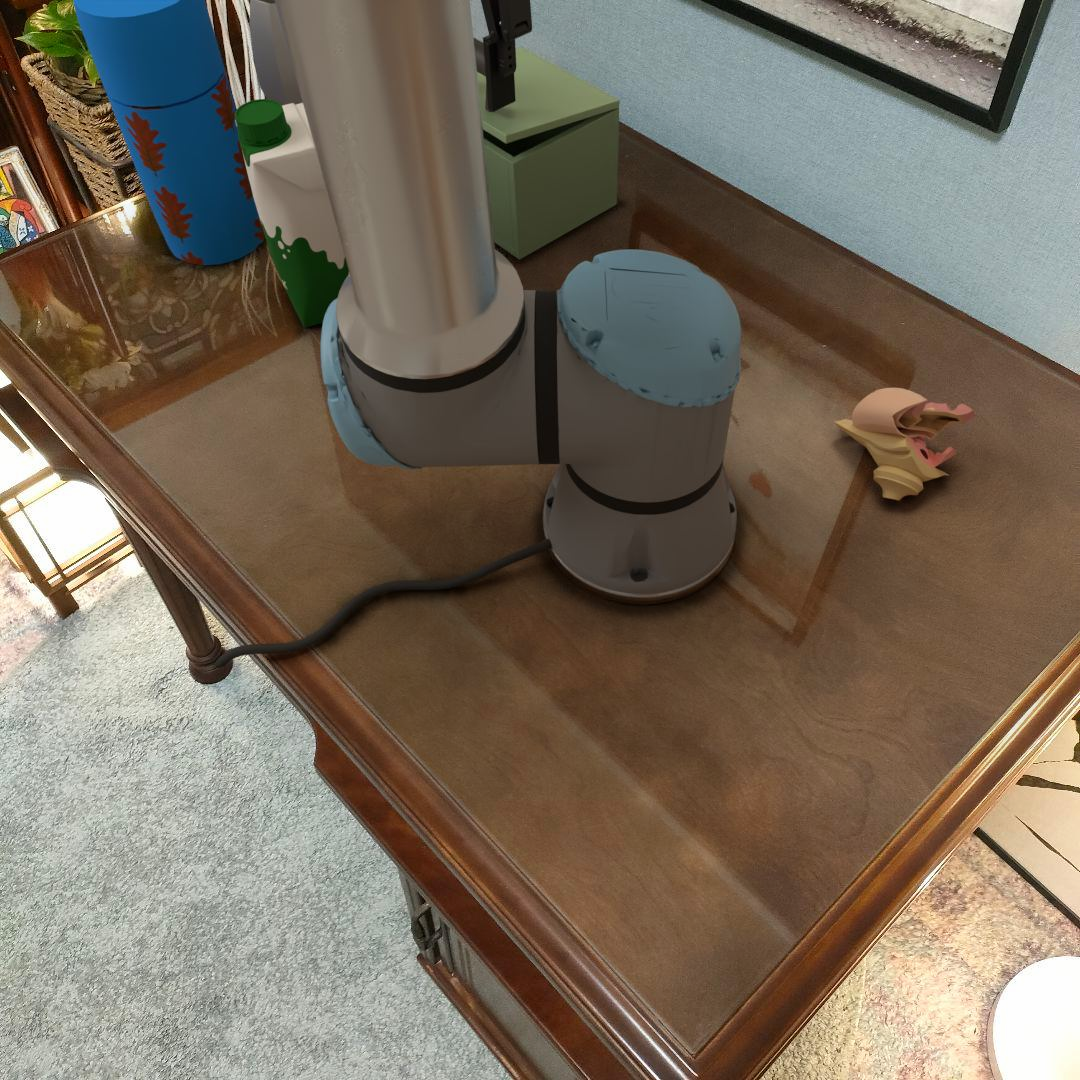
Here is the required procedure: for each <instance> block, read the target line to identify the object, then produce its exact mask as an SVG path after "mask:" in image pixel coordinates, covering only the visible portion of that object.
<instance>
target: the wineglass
mask: <svg viewBox="0 0 1080 1080" xmlns="http://www.w3.org/2000/svg"><path fill="white" fill-rule="evenodd" d="M249 34H250V41H251V42H250V43H251V50H252V51H251V52H252V61H253V65H254V69H255V73H256V76H257V80H258V83H259V88H260V89H261V91H262V93H263V95H264V96H265V99H270V100H274V101H277V102H278V103H280V104H281V105H282V106H283V105H287V104H291V103H294V104H295V105H296V104H300V103H303V101H302V98H301V94H300V91H299V87H298V83H297V80H296V76H295V72H294V69H293V65H292V62H291V58H290V54H289V51H288V47H287V43H286V40H285V36H284V33H283V29H282V25H281V22H280V18H279V14H278V11H277V7H276V4H275V0H249Z"/></svg>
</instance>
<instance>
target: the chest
mask: <svg viewBox="0 0 1080 1080" xmlns="http://www.w3.org/2000/svg"><path fill="white" fill-rule="evenodd" d="M619 132H620V107H619V108H617V109H613V110H610V111H607V112H604V113H601V114H598V115H595V116H591V117H588V118H585V119H582V120H579V121H576V122H573V123H569V124H566V125H563V126H560V127H557V128H554V129H551V130H547V131H544V132H541V133H538V134H535V135H532V136H529V137H525V138H522V139H519V140H516V141H513V142H510V143H504V142H503V141H501V140H499V139H498V138H496V137H495V136H493V135H491V134H490V133H488V132H487V131H485V130H483V137H484V147H485V157H486V167H487V177H488V187H489V197H490V207H491V217H492V227H493V236H494V244H496V245H498V246H499V247H501V248H502V249H503V250H504V251H506V252H507V253H509V254H510V255H512V256H513V257H515V258H516V259H518V260H521V259H524V257H526V256H528V255H530V254H532V253H533V252H535V251H537V250H539V249H541V248H542V247H544V246H546V245H548V244H549V243H552V242H553V241H554V240H557V239H559V238H560V237H562V236H564V235H565V234H567V233H569V232H571V231H573V230H574V229H576V228H578V227H579V226H582V225H583V224H585V223H586V222H588V221H590V220H592V219H593V218H595V217H597V216H599V215H600V214H602V213H604V212H606V211H608V210H609V209H611V208H613V207H615V206H617V204H618V176H619V175H618V174H619V171H618V170H619V137H620V136H619V135H620V133H619Z"/></svg>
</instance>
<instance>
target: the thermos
mask: <svg viewBox="0 0 1080 1080" xmlns="http://www.w3.org/2000/svg"><path fill="white" fill-rule="evenodd" d="M72 3H73V6H74V10H75V13H76V18H77V22H78V25H79V26H80V30H81V33H82V35H83V38H84V40H85V43H86V45H87V48H88V50H89V53H90V56H91V58H92V60H93V64H94V66H95V68H96V71H97V73H98V76H99V78H100V81H101V84H102V86H103V88H104V90H105V93H106V96H107V99H108V101H109V104H110V107H111V110H112V112H113V114H114V117H115V119H116V121H117V125H118V126H119V129H120V132H121V134H122V137H123V140H124V142H125V145H126V147H127V150H128V153H129V155H130V158H131V160H132V163H133V164H134V167H135V171H136V173H137V175H138V178H139V180H140V183H141V185H142V188H143V191H144V194H145V195H146V199H147V201H148V203H149V206H150V209H151V211H152V213H153V216H154V219H155V220H156V223H157V225H158V227H159V229H160V231H161V233H162V236H163V238H164V240H165V243H166V244H167V247H168V248H169V250H170V252H171V253H172V254H173V255H174V257H176V258H177V259H179V260H181V261H183V262H185V263H186V264H191V265H199V266H215V265H222V264H226V263H230V262H234V261H238V260H239V259H242V258H243V257H245V256H247V255H249V254H250V253H252V252H254V251H255V250H256V249H257V248H258V247H259V246H260V245H261V244H262V243H263V242H264V240H265V239H266V238H265V235H264V231H263V228H262V224H261V221H260V218H259V214H258V211H257V208H256V204H255V201H254V197H253V193H252V189H251V185H250V181H249V178H248V174H247V169H246V165H245V161H244V156H243V152H242V149H241V146H240V142H239V135H238V131H237V126H236V121H235V112H236V110H237V109H238V108H237V106H236V102H235V100H234V96H233V93H232V88H231V86H230V82H229V79H228V75H227V72H226V68H225V65H224V61H223V57H222V54H221V51H220V47H219V45H218V40H217V37H216V34H215V30H214V26H213V23H212V20H211V17H210V13H209V9H208V6H207V3H206V0H73V2H72Z"/></svg>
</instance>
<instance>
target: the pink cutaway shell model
mask: <svg viewBox="0 0 1080 1080" xmlns="http://www.w3.org/2000/svg"><path fill="white" fill-rule="evenodd" d="M975 417H977V414H976V412H975V411H974V410H973V409H972V408H971V407H970V406H968V405H966V404H964V403H963V402H962V403H960V404H959V405H957V406H956V407H955V408H954V409H952V407H951V406H950V405H949V404H948V403H946V402H944V403H943V402H942V403H938V402H933V401H930V402H928V399H927V398H925V397H924V396H922V395H920V394H919V393H916V392H915V391H912V390H910V389H907V388H901V387H884V388H880V389H879V388H878V389H876V390H875V391H872V392H871V393H869V394H867V395H866V396H865V397H864V398H862V399H861V400H860V401H859V402H858V403H857V404H856V405H855V407H854V409H853V411H852V414H851V419H847V418H844V419H839V420H834V421H833V423H834V424H835V425H836V426H837V427H838V428H839V429H840V430H842V431H843V432H844V433H845V434H847V435H848V436H850V437H851V438H852V439H853V440H855V441H856V442H858V443H859V444H860V445H862V446H864V447H865V448H866V449H867V451H868V452H869V455H871V456H872V459H873V461H874V463H876V465H877V466H878V467H877V468H875V469H874V470H873V481H874V482H875V483H877V484H878V485H879V486H880V487H881V489H882V498H886V499H891V500H896V501H901V500H902V499H903V498H904V497H907V496H918V495H919V493H920V492H922V491H923V490H924V484H923V483H924V482H927V481H931V480H934V479H938V478H940V477H943V476H949V474H948V473H946V472H945V471H943V470H941V469H938V468H936V467H937V466H940V465H941V464H943V463H944V462H946V461H948V460H949V459H950V458H953V457H954V456H956V455H957V452H956V450H955V448H954V447H952V446H948V447H947V448H946V449H945V450H944V451H943V452H939V451H938V452H933V451H932V450H931V449H928V448H927V443H926V442H925V441H924V439H925V438H927V439H928V440H929V441H932V440H933V439H934V438H936V436H938V435H939V434H940V433H942V431H944V430H945V429H946V428H947V427H948V426H950V425H965V424H966V423H967V422H970V421H971V420H973V419H974V418H975Z"/></svg>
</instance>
